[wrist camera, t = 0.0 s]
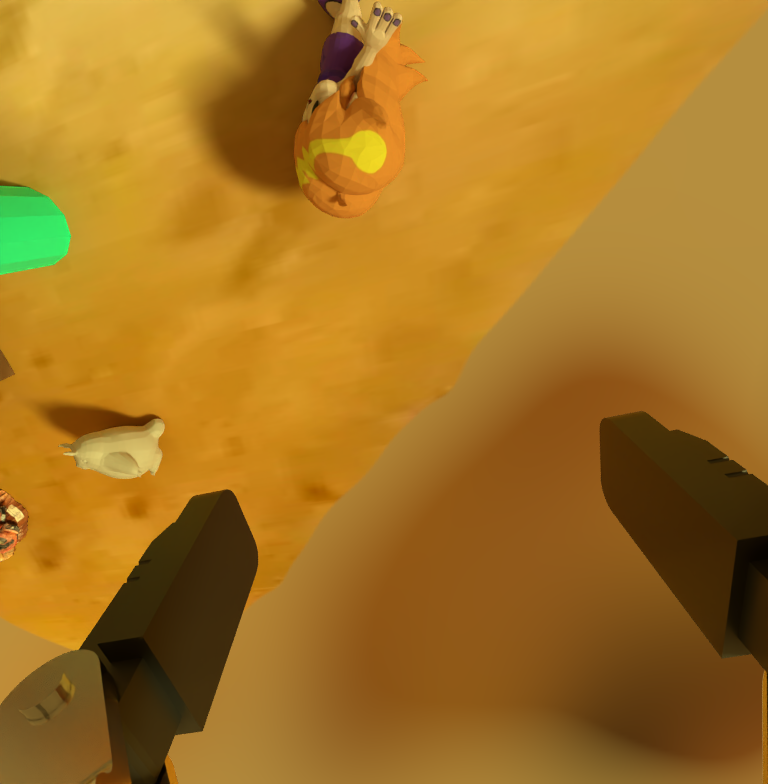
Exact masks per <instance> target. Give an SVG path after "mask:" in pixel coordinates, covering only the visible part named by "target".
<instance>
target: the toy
mask: <svg viewBox="0 0 768 784" xmlns="http://www.w3.org/2000/svg"><path fill="white" fill-rule="evenodd" d="M359 1H360V0H318V2H319V4H320V5H321V6H322V8H323V9H324V10H325V11H326V13H328V14H329V15H330V16H331V17H332V18H333V19H335V21H334V24H333V28H332V32H331V35H330V36H329V37H328V38H327V39H326V41H325V43H324V46H323V50H322V56H321V63H320V67H321V74H320V76H319V78H318V83H317V85H316V86H315V87H314V90H313V92H312V94H311V96H310V98H309V99H308V103H307V106H306V109H305V111H304V114H303V119H302V123H301V124H300V125H299V127H298V129H297V131H296V135H295V139H294V159H295V167H296V173H297V176H298V180H299V185H300V187H301V189H302V191H303V193H304V195H305V196H306V197H307V198H308V199H309V200H310V201H311V202H312V203H313V205H315V206H316V207H317V208H318V209H320V210H321V211H323V212H325V213H327V214H329V215H331V216H334V217H339V218H352V217H357V216H360V215H362V214H364V213H365V212H366V211H368V210H369V209H370V208H371V207H372V206H373V205H374V203H375V202H376V201H377V199H378V197H379V195H380V193H381V191H382V189H383V188H384V187H385V186H386V185H388V184H389V183H390V182H391V181H393V180H394V179H395V177H396V176H397V175H398V174H399V172H400V171H401V169H402V166H403V164H404V156H405V131H404V122H403V118H402V113H401V108H400V103H399V101H401V99H402V98H403V97H404V96H405V95H406V93H407V92H408V91H409V90H410V89H412V88H413V87H414V86H416V85H417V84H419V83H421V82H423V81H428V80H427V79H426V78H425V77H424V76H423V75H422V74H421V73H419V72H418V71H417V70H415V69H412V68H410V67H407V66H405V65H407V64H412V63H422V62H425V61H423V60H422V59H421V58H420V57H419V56H418V55H417V54H416V53H415V52H414V51H413V50H411V49H410V48H408V47H407V46H405V45H402V44H400V39H399V36H400V28H401V24H402V16H401V14H399V13H394V15H393V11H392V9H391V8H390V7H385V8H384V10H383V8H382V5H381V3H380V2H376V3H374V5H373V8H372V11H371V15H370V18H369V21H368V23H367V24H366V23H364V21H363V20H362V18H361V17H362V16H361V10H360V6H359V3H358V2H359ZM382 10H383V12H382ZM381 14H382V15H381ZM380 16H381V17H380ZM379 18H380V19H379ZM362 40H363V42H364V44H363V43H362Z"/></svg>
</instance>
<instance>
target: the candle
mask: <svg viewBox="0 0 768 784" xmlns="http://www.w3.org/2000/svg"><path fill="white" fill-rule="evenodd" d="M70 238H71V235H70V232H69V228H68V225H67V222H66V219H65V216H64V214H63V213H62V212H61V211H60V210H59V209H58V207H57V206H56V205H55V204H54V203H53V202H52V200H51V199H50V198H49V197H47V196H45V195H43V194H41V193H39V192H37V191H35V190H33V189H31V188H29V187H17V186H0V275H2V274H7V273H12V272H18V271H23V270H29V269H34V268H39V267H45V266H50V265H54V264H56V263H57V262H58V261H59V260H60V259H62V258H63V257H64V256H65V255H66V254H67V252H68V247H69V243H70Z"/></svg>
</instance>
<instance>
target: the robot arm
mask: <svg viewBox="0 0 768 784" xmlns="http://www.w3.org/2000/svg"><path fill="white" fill-rule="evenodd" d="M600 460H601V484H602V489H603V493H604V496H605V499H606V501H607V503H608V506H609V507H610V509H611V511H612V512H613V514H614V515H615V516H616V517H617V519H618V520H619V522H620V523H621V524H622V525H623V527H624V528H625V529H626V531H627V532H628V533H629V535H630V536H631V537H632V539H633V540H634V542H635V543H636V544H637V546H638V547H639V548H640V549H641V551H642V552H643V554H644V555H645V556H646V558H647V559H648V560H649V562H650V563H651V564H652V565H653V567H654V568H655V570H656V571H657V572H658V574H659V575H660V576H661V578H662V579H663V580H664V582H665V583H666V584H667V586H668V587H669V588H670V590H671V591H672V592H673V594H674V595H675V596H676V598H677V599H678V600H679V602H680V603H681V604H682V606H683V607H684V608H685V610H686V611H687V612H688V614H689V615H690V616H691V618H692V619H693V620H694V622H695V623H696V624H697V626H698V627H699V628H700V630H701V631H702V632H703V634H704V635H705V636H706V638H707V639H708V640H709V642H710V643H711V644H712V646H713V647H714V648H715V650H716V651H717V652H718V654H719V655H720V656H721V658H728V657H735V656H742V655H748V654H752V655H753V656H754V658H755V659H756V660H757V661H758V662H759V664H760V665H761V666H762V667H763V668H764V675H763V683H762V702H763V703H762V719H763V720H762V722H763V784H768V485H766V484H765V483H764V482H762V481H761V480H760V479H758V478H757V477H755V476H754V475H753V474H748V473H747V470H746V469H745V468H743V467H742V466H740V465H739V464H738V463H736V462H735V461H734V460H729V458H728V456H727V455H725V454H724V453H722V452H721V451H719V450H718V449H717V448H716V447H714V446H713V445H711V444H710V443H709V442H708V441H706V440H703V439H701V438H698V437H695V436H693V435H690V434H687V433H685V432H682V431H680V430H673V431H669V430H668V429H666V428H665V427H664V426H663V425H661V424H660V423H659V422H658V421H656V420H655V419H654V418H652V417H651V416H650V415H649V414H647V413H646V412H643V411H639V412H634V413H629V414H624V415H618V416H613V417H608V418H604V419H603V420H602V421H601V423H600ZM257 567H258V551H257V546H256V543H255V540H254V538H253V535H252V533H251V531H250V528H249V526H248V524H247V521H246V519H245V517H244V515H243V512H242V510H241V508H240V505H239V503H238V501H237V498H236V496H235V495H234V493H233V492H232V491H230V490H222V491H217V492H211V493H206V494H201V495H196V496H193V497H192V498H191V499H190V501H189V502H188V504H187V505H186V507H185V508H184V510H183V511H182V513H181V515H180V516H179V518H178V519H177V521H176V522H175V523H172V524H171V525H170V526H169V527H168V528H167V529H165V530H164V531H163V532H162V533H161V534H160V535H159V536H158V537H157V538H156V539H154V540H153V541H152V543H151V544H150V546H149V547H148V548H147V550H146V551H145V553H144V554H143V556H142V557H141V559H140V560H139V565H138V566H135V568H134V569H133V571H132V572H131V574H130V575H129V576H128V578H127V583H124V584H123V585H122V587H121V588H120V590H119V591H118V593H117V594H116V596H115V597H114V599H113V600H112V602H111V603H110V604H109V606H108V607H107V609H106V610H105V612H104V613H103V615H102V616H101V618H100V619H99V621H98V622H97V624H96V625H95V627H94V628H93V630H92V631H91V633H90V634H89V635H88V637H87V638H86V640H85V641H84V643H83V644H82V646H81V647H80V649H79V650H75V651H71V652H68V653H65V654H62V655H60V656H58V657H56V658H54V659H52V660H50V661H49V662H47V663H45V664H44V665H42V666H41V667H39V668H38V669H36V670H35V671H34V672H32V673H31V674H30V675H28V676H27V677H26V678H25V679H24V680H23V681H22V682H20V683H19V684H18V685H17V686H16V687H15V688H14V690H13V691H12V692H11V693H10V694H9V695H8V696H7V697H6V698H5V700H4V701H3V702H2V703H1V705H0V784H178V780H177V776H176V772H175V769H174V765H173V762H172V760H171V759H170V757H169V756H168V751H169V749H170V746H171V744H172V741H173V739H174V736H175V735H178V734H186V733H193V732H200V731H203V728H204V725H205V722H206V719H207V716H208V713H209V711H210V707H211V705H212V701H213V699H214V696H215V693H216V690H217V687H218V684H219V681H220V678H221V675H222V672H223V669H224V666H225V663H226V660H227V657H228V655H229V651H230V648H231V646H232V643H233V640H234V637H235V634H236V631H237V628H238V625H239V622H240V619H241V616H242V613H243V610H244V607H245V604H246V601H247V598H248V596H249V593H250V590H251V587H252V584H253V581H254V578H255V575H256V572H257Z"/></svg>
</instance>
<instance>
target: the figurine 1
mask: <svg viewBox="0 0 768 784" xmlns="http://www.w3.org/2000/svg"><path fill="white" fill-rule="evenodd" d="M28 518H29V516H28V512H27V511H26V509H25V508H23V507H22V505H21V504H19V503H17V502H16V501H14V498H12V497H11V496H10V495H9V494H7V492H5V491H3V490H0V562H1V561H3V560H6V559H8V558H10V557H11V556H12V555H13V554H14V551H15V545H16V544H17V543H18V542H20V541H21V540H22V539H23V538H24V537H25V536H26V532H27V530H28V529H27V526H28V525H27V522H28Z"/></svg>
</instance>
